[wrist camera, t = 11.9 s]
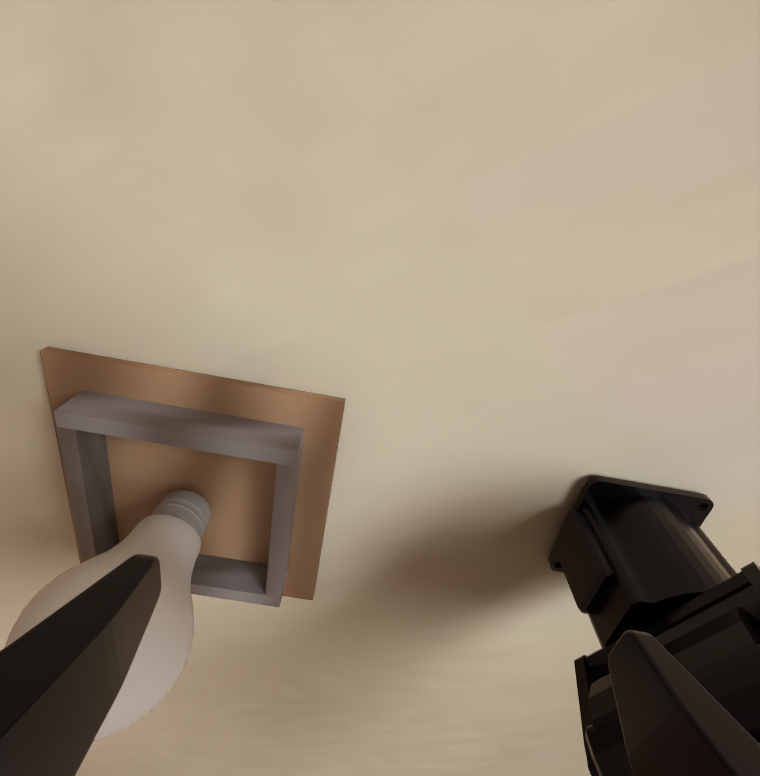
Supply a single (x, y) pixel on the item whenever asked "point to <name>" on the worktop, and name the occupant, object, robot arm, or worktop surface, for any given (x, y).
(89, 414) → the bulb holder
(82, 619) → the robot arm
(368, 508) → the worktop surface
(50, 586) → the lightbulb
